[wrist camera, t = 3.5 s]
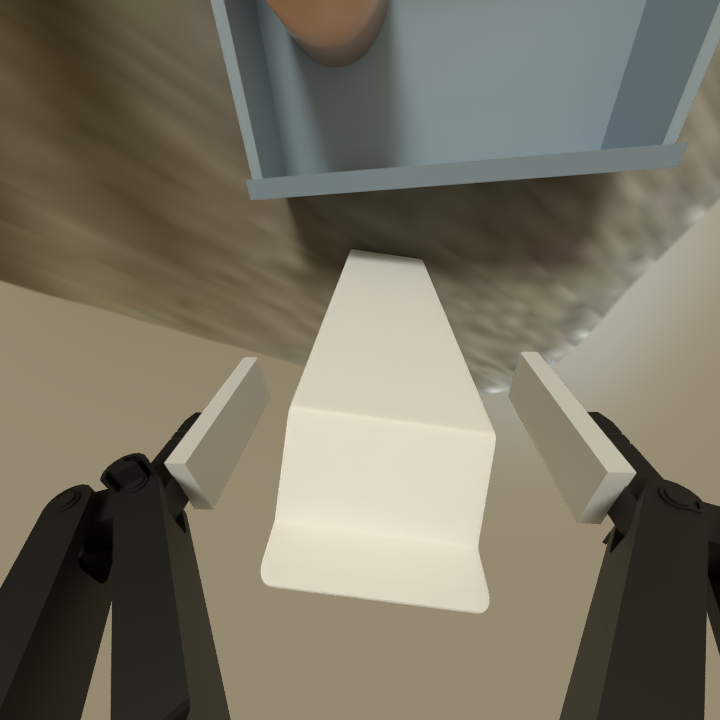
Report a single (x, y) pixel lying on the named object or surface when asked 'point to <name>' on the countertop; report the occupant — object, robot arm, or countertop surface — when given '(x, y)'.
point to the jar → (332, 27)
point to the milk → (384, 451)
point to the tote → (468, 93)
